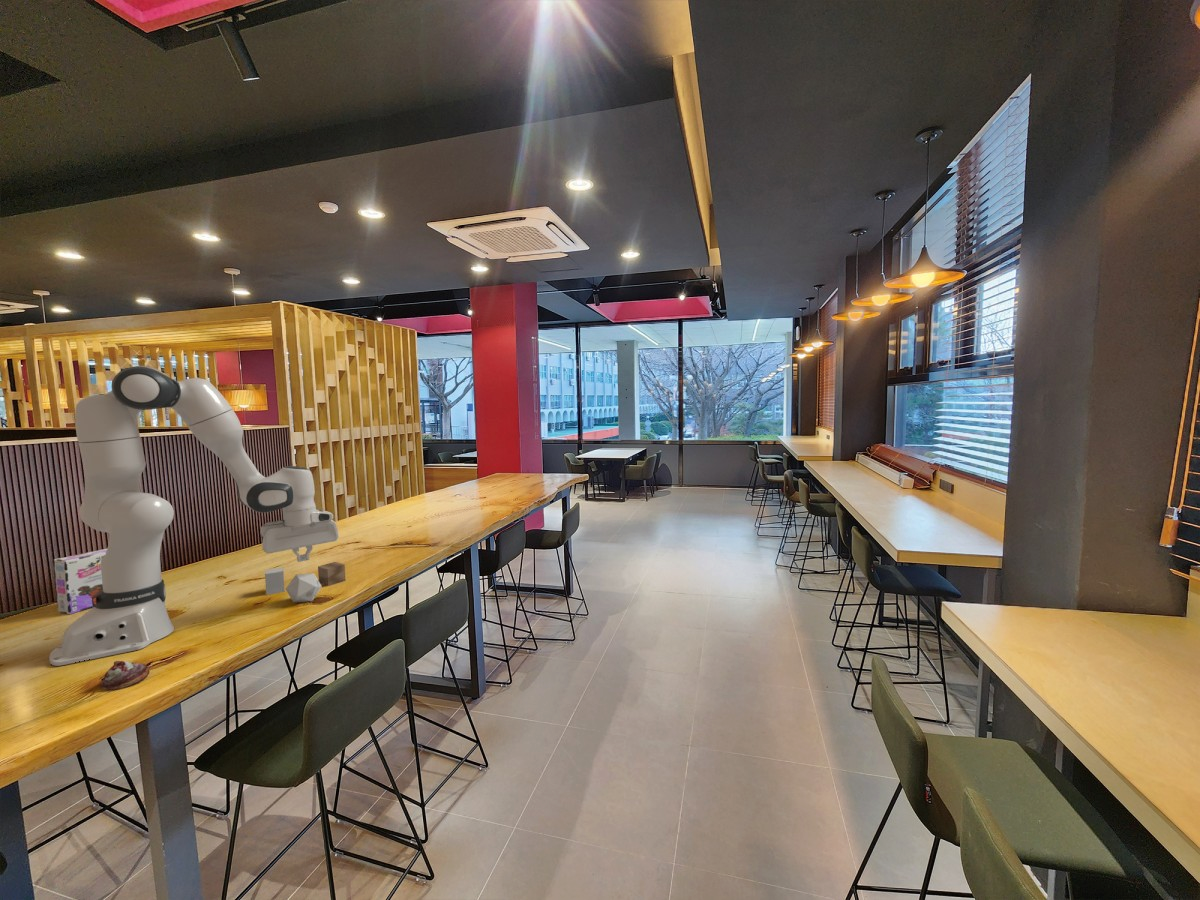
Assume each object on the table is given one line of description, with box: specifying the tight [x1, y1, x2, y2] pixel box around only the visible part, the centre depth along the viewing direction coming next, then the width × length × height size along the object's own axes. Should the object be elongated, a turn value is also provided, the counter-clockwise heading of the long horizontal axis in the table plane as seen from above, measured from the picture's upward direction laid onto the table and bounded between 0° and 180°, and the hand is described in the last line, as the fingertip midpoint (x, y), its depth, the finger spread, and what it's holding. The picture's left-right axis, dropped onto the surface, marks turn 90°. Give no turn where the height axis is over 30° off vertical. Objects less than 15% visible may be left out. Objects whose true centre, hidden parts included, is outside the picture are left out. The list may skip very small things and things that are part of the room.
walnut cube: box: [317, 561, 347, 587], centre depth 167 cm, size 6×6×6 cm
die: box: [285, 572, 322, 604], centre depth 151 cm, size 8×9×10 cm
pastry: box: [100, 660, 150, 692], centre depth 106 cm, size 8×8×5 cm
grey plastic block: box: [264, 566, 286, 596], centre depth 159 cm, size 5×5×7 cm
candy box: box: [53, 548, 107, 615], centre depth 148 cm, size 14×6×16 cm, turn 161°
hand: (303, 560), depth 150 cm, fingers closed
